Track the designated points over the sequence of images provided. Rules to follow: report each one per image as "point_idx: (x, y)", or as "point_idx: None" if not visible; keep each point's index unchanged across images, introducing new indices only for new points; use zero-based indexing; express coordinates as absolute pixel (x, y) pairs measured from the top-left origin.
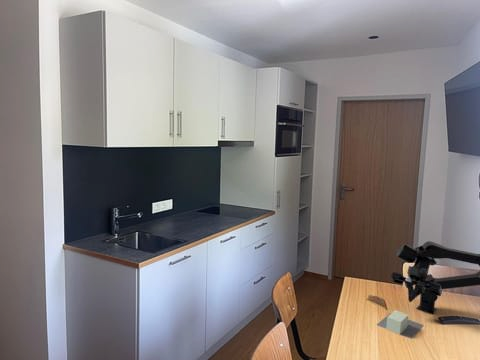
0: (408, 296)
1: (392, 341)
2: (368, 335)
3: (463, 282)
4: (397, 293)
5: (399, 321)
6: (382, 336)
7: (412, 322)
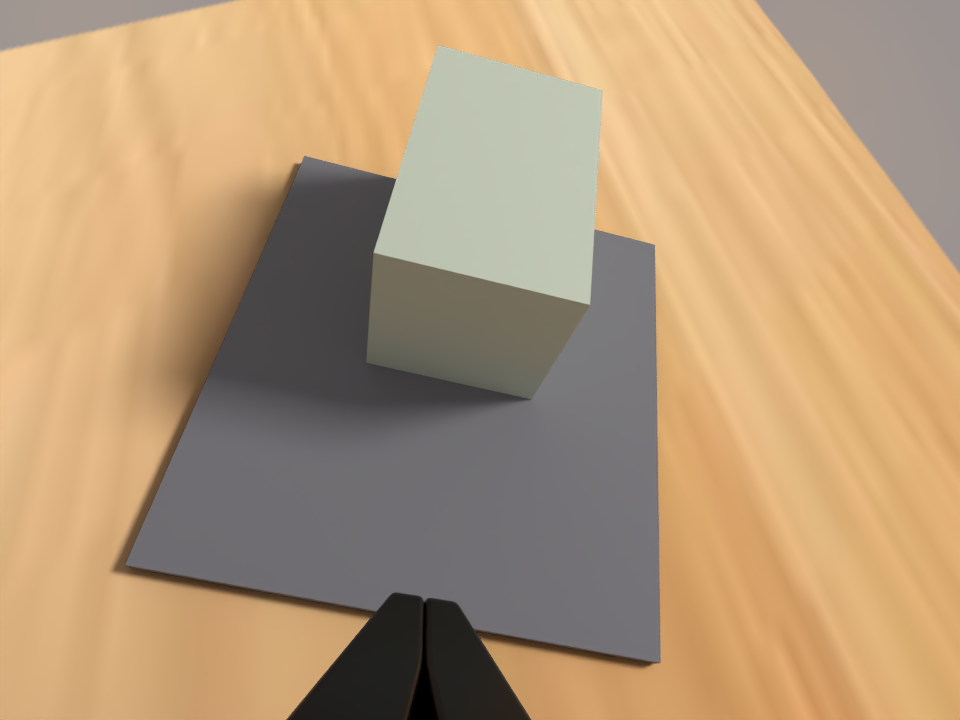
0: (500, 678)
1: None
2: (629, 94)
3: None
4: None
5: (454, 52)
6: None
7: (307, 540)
